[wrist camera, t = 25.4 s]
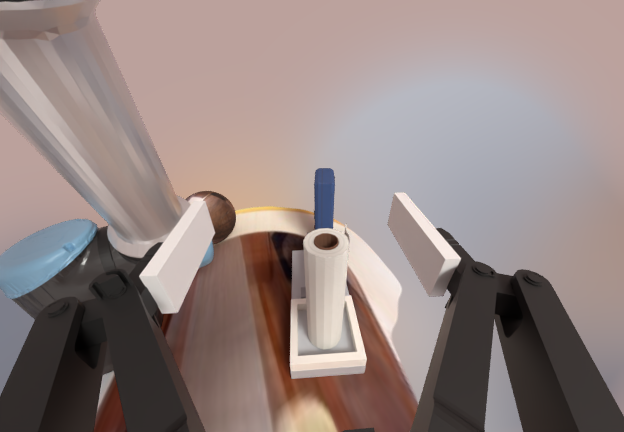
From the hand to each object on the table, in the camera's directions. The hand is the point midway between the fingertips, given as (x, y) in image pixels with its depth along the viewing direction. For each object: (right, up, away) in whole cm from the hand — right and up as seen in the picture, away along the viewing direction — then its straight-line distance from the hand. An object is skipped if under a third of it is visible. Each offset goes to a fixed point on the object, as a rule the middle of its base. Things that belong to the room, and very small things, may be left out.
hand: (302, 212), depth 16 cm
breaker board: (+3, -19, +33) cm, 38 cm away
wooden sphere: (-29, -7, +53) cm, 61 cm away
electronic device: (+4, -7, +52) cm, 53 cm away
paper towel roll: (+4, -21, +25) cm, 33 cm away
